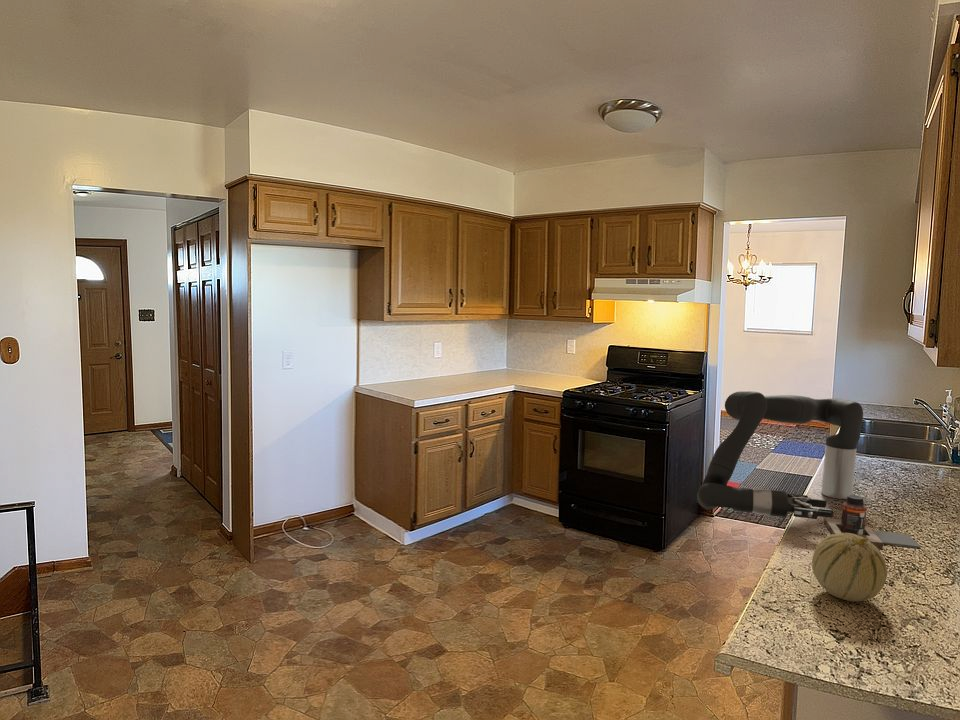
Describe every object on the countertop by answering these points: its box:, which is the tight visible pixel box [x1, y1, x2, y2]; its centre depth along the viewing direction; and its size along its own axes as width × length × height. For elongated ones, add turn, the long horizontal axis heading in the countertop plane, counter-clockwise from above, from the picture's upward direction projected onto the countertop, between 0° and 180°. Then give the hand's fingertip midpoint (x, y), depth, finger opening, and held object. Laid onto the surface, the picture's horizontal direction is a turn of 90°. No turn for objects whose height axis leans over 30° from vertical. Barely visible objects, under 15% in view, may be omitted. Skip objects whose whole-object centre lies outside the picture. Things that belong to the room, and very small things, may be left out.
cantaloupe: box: [811, 533, 888, 603], centre depth 142 cm, size 15×15×15 cm
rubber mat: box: [873, 530, 921, 549], centre depth 177 cm, size 9×9×1 cm
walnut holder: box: [823, 517, 884, 549], centre depth 180 cm, size 16×11×2 cm
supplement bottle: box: [839, 494, 867, 535], centre depth 180 cm, size 6×6×11 cm
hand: (829, 508), depth 182 cm, fingers open, 8 cm apart
